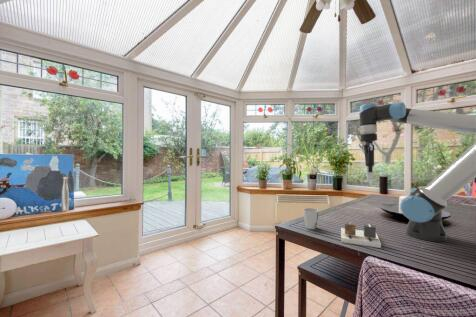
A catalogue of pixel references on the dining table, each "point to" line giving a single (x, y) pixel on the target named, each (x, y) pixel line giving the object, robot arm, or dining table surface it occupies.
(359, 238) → the white flat slab
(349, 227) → the fader
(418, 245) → the dining table surface
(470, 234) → the dining table surface
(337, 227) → the dining table surface
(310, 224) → the cup
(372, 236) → the fader
